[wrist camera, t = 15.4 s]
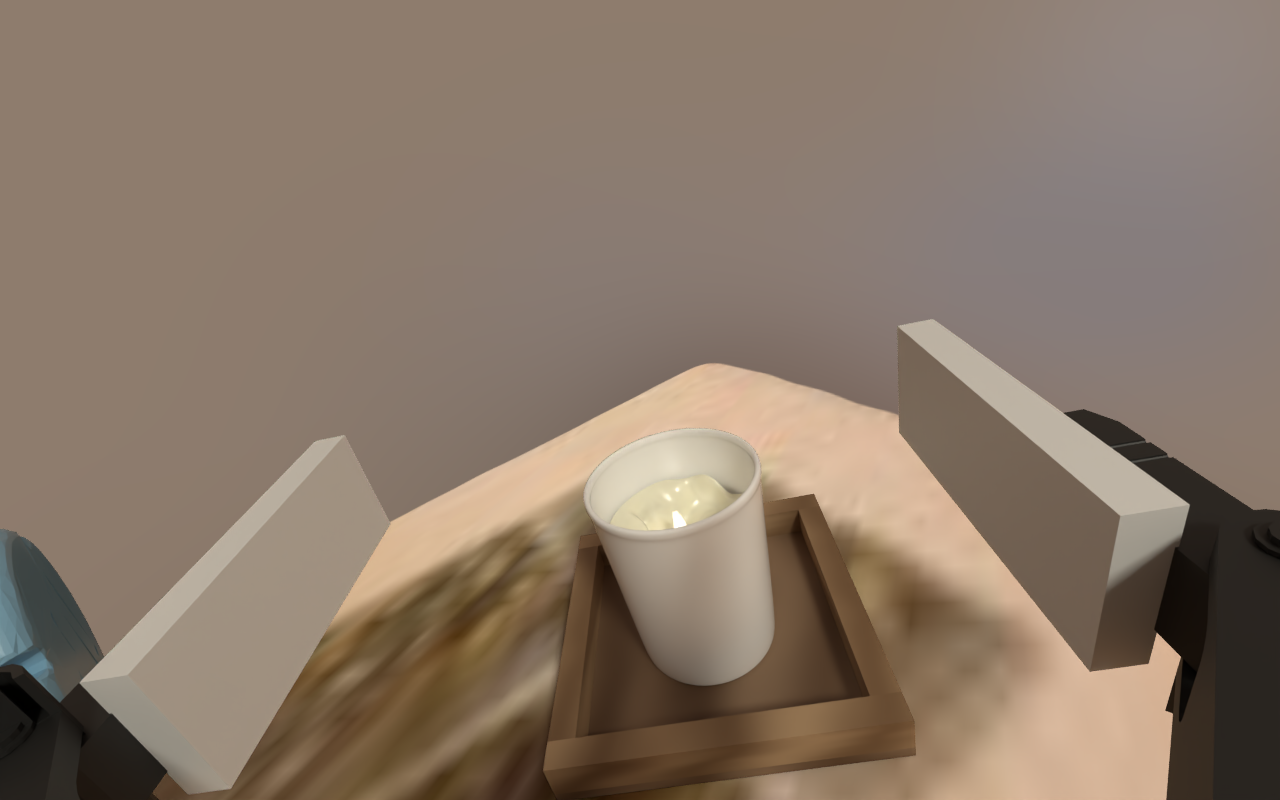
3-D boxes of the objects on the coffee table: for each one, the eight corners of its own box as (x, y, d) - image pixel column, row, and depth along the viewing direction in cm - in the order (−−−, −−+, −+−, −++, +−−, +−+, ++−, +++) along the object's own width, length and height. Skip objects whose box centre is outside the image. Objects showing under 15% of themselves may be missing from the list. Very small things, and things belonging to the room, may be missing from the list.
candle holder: (703, 554, 43) (669, 414, 38) (820, 615, 36) (798, 451, 31) (603, 642, 38) (548, 493, 33) (716, 734, 30) (668, 561, 25)
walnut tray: (557, 801, 30) (542, 771, 29) (589, 561, 46) (580, 536, 45) (915, 755, 28) (914, 720, 27) (817, 521, 44) (813, 493, 43)
